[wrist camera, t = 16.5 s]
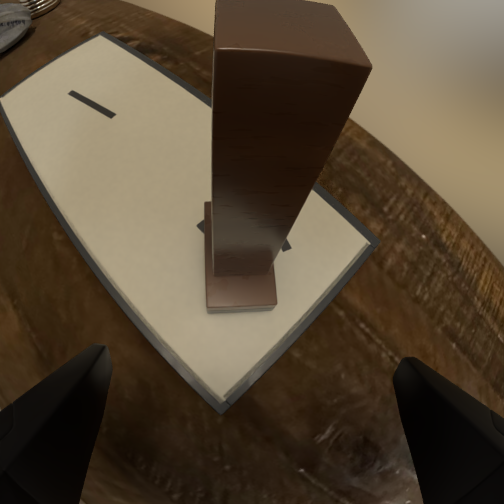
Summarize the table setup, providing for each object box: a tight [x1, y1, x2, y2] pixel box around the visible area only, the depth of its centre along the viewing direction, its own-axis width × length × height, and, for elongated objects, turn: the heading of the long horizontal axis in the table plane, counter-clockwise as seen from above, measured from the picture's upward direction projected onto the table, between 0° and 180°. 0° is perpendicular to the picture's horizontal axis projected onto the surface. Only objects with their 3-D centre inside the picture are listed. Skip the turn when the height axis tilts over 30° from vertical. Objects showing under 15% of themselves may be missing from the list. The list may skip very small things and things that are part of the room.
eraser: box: [204, 0, 372, 314], centre depth 11 cm, size 6×4×14 cm, turn 4°
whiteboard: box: [0, 31, 380, 415], centre depth 21 cm, size 37×15×1 cm, turn 46°
